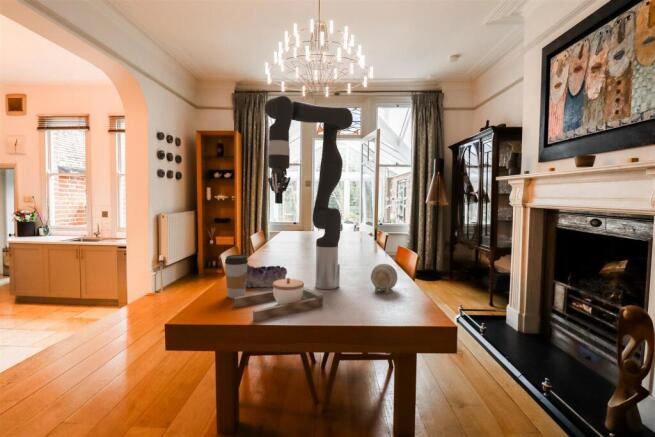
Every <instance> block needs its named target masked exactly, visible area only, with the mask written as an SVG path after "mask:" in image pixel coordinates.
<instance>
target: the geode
mask: <svg viewBox="0 0 655 437" xmlns="http://www.w3.org/2000/svg"><path fill="white" fill-rule="evenodd" d="M287 274H288V270H287V268H285V267H284V266H280V265H276V266H274V265H270V266H265V265H264V266H257V267H254V266H253V265H252V266H251V265H249V263H247V280H246V289H248V288H267V289H268V288H273V282H274V281H277V280H282V279H287V277H286V276H287Z"/></svg>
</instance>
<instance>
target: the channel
mask: <svg viewBox="0 0 655 437" xmlns="http://www.w3.org/2000/svg"><path fill="white" fill-rule="evenodd" d="M271 301H276V300H275V298H274V294H273V290H270V291H265V292H264V291H263V292H259V293H252V294H248V295H246V294H245V296H240V297H235V298H233V307H235V308H240V307H245V306H251V305H254V304H261V303H265V302H271ZM323 306H324V295H323V294H322V293H319V292H318V291H315V290H312V289H309V288H308V287H305V286H303V295H302V298H301V300H300V301H297V302H292V303H287V304H283V305H279V304H278V305H272V306H270V307H264V308H259V309H254V310H253V311H252V321H253V322H260V321H261V322H262V321H266V320H270V319H273V318H277V317H282V316H286V315H287V316H288V315H291V314H295V313H299V312H304V311H308V310H313V309H316V308H321V307H323Z"/></svg>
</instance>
